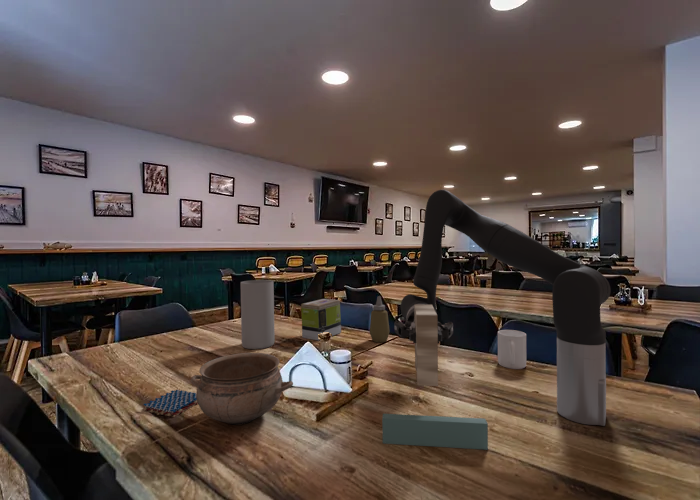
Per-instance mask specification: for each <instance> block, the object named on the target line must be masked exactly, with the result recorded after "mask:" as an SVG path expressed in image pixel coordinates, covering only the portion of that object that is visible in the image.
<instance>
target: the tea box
mask: <svg viewBox="0 0 700 500" xmlns="http://www.w3.org/2000/svg"><path fill="white" fill-rule="evenodd" d="M300 306H301V307H300V311H301V334H302V335H301V336H302V337H301V338H303V339H308V340H312V341H319V339H318V334H320V333H323V332H329V333H331V334H332V336H335V335H338V334H341V333H342V318H341V315H342V314H341V300H339V299H331V298H330V299H328V298H321V299H317V300H313V301H308V302H304V303H301V304H300ZM332 336H331V337H332Z"/></svg>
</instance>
